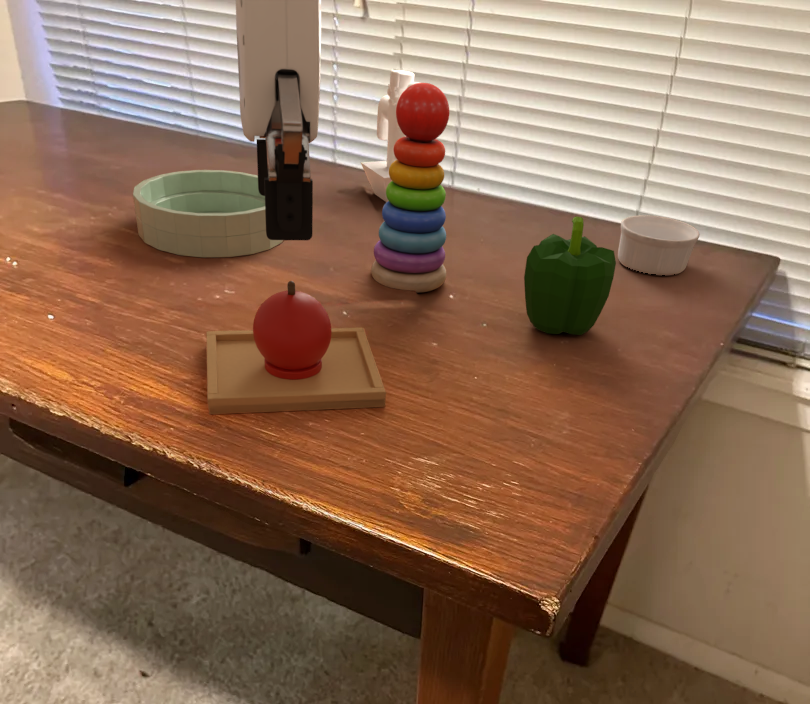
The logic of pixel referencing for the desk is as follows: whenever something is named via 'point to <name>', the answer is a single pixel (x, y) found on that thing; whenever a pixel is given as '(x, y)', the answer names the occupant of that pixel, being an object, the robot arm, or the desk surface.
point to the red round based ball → (292, 334)
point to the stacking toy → (415, 196)
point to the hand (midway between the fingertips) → (283, 215)
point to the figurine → (388, 131)
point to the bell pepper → (567, 282)
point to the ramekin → (656, 244)
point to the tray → (262, 392)
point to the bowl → (202, 213)
